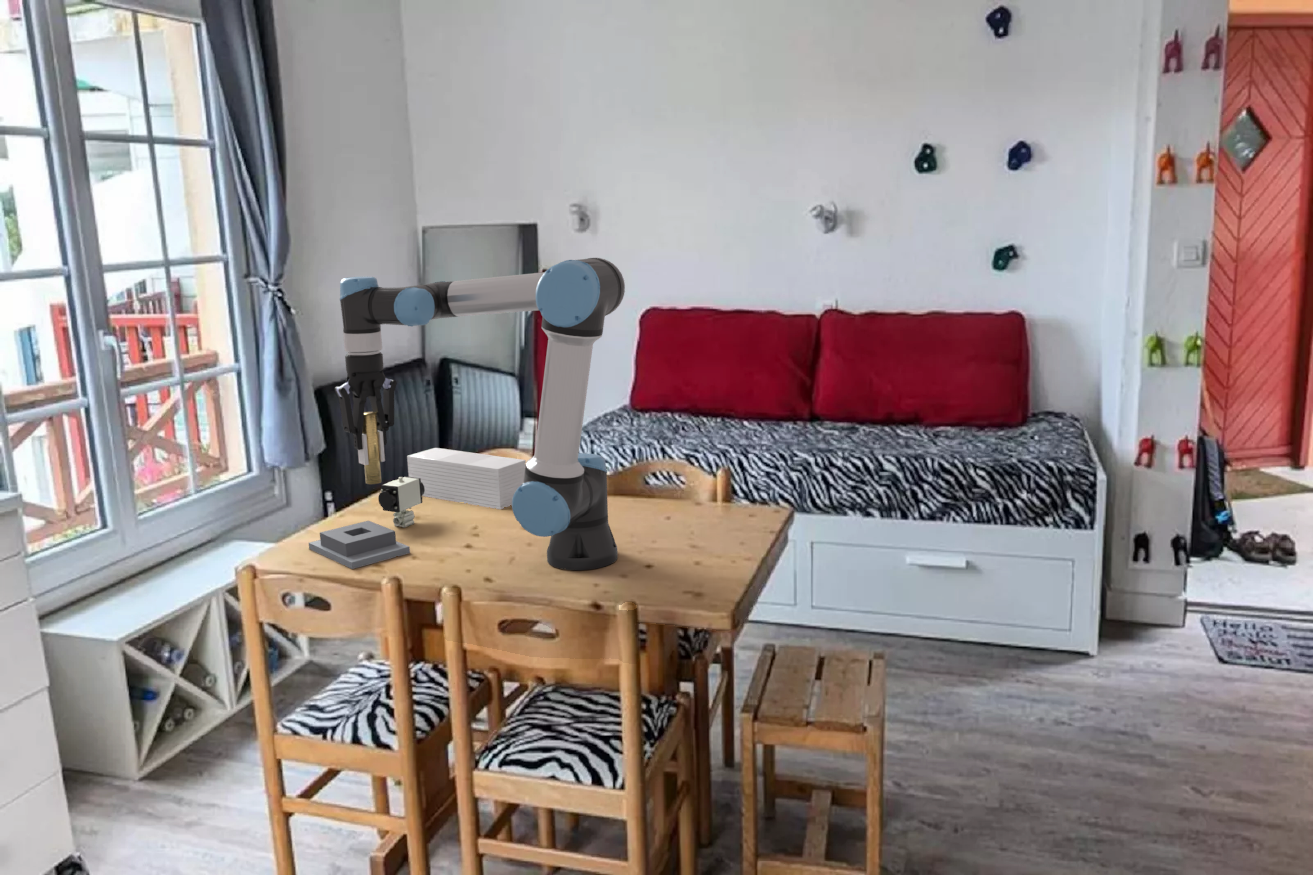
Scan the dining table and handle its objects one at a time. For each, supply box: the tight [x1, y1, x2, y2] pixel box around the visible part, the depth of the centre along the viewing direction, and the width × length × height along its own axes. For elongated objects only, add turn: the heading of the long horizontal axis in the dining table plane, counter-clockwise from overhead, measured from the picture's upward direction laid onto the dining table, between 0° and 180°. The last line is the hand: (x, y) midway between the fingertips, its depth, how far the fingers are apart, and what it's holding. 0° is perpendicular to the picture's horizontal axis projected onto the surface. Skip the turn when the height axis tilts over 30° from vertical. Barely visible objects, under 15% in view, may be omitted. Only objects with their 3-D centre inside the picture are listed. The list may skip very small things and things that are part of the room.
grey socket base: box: [308, 520, 411, 570], centre depth 231 cm, size 20×14×4 cm
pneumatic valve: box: [378, 476, 425, 529], centre depth 249 cm, size 6×12×12 cm, turn 153°
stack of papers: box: [406, 447, 527, 510], centre depth 273 cm, size 32×11×11 cm, turn 57°
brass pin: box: [363, 411, 382, 485], centre depth 219 cm, size 3×3×15 cm
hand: (371, 462), depth 220 cm, fingers closed on brass pin, 3 cm apart
